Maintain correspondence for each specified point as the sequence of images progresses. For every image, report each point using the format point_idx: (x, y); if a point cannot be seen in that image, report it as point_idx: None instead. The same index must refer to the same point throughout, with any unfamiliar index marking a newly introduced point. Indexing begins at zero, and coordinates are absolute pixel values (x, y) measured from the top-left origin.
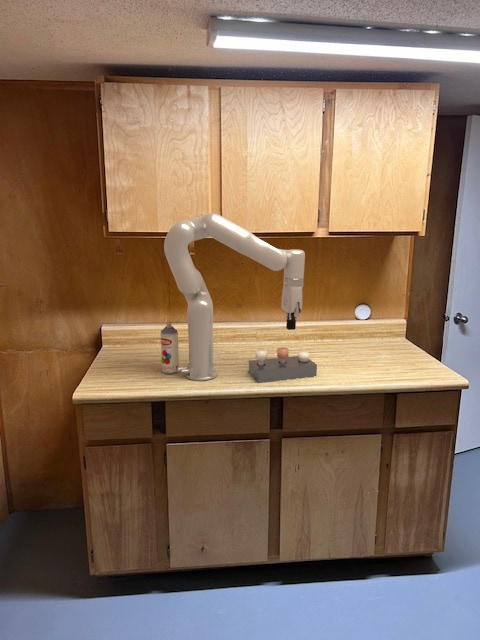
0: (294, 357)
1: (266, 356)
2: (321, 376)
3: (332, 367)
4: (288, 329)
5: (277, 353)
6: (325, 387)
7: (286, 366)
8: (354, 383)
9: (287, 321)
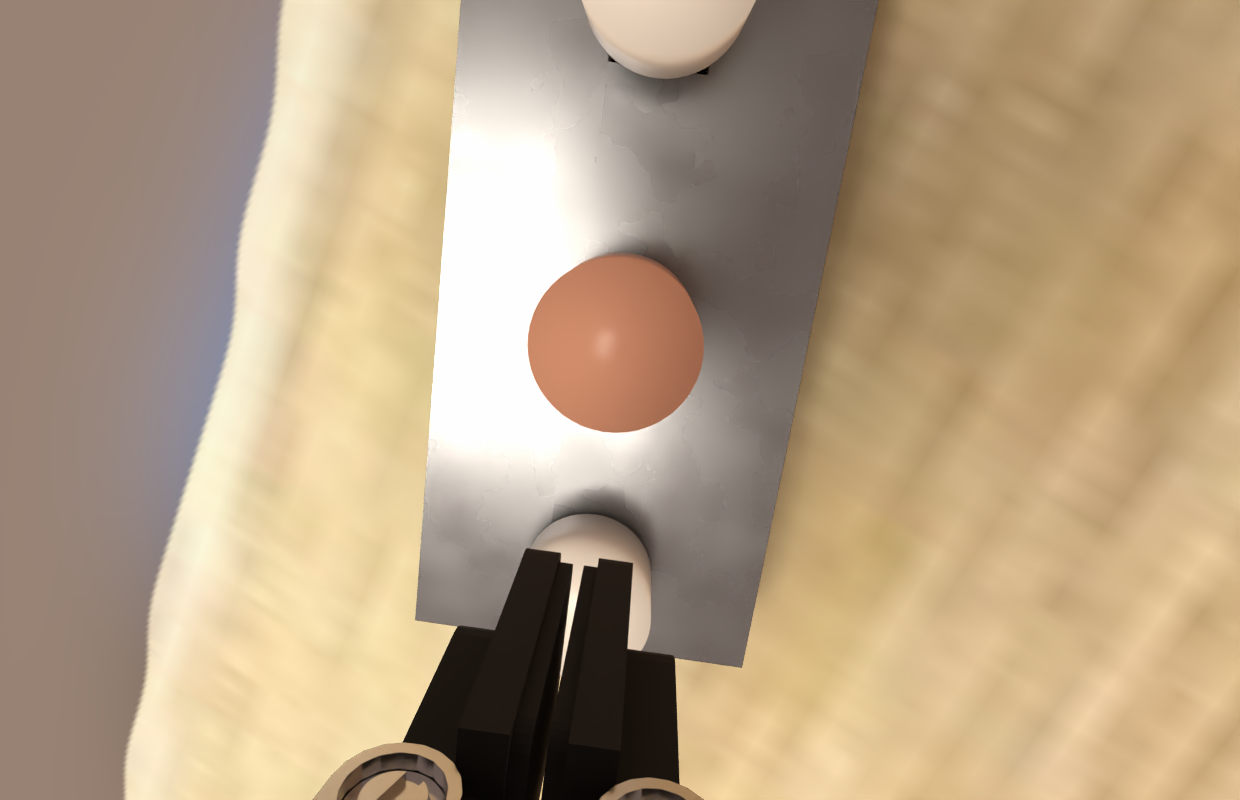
0: (724, 537)
1: (603, 40)
2: None
3: None
4: (527, 558)
5: (634, 257)
6: (197, 482)
7: (478, 288)
8: (210, 729)
9: (574, 689)
